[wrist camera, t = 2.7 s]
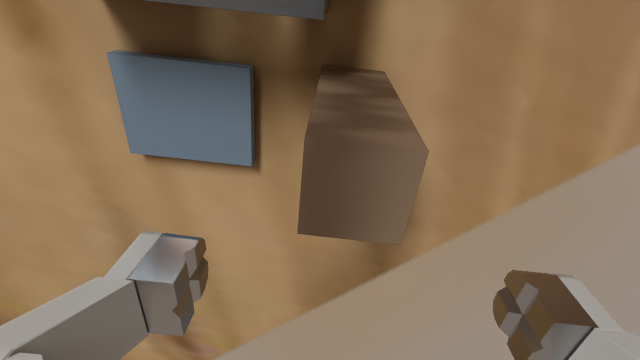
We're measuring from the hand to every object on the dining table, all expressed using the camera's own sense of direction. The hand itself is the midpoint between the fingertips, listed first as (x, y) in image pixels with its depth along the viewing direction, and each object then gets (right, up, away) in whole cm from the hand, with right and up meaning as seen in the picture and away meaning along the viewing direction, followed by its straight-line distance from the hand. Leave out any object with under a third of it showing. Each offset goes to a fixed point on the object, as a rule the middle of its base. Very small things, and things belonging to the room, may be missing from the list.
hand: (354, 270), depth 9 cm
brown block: (+1, +8, +13) cm, 15 cm away
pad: (-10, +7, +14) cm, 19 cm away
